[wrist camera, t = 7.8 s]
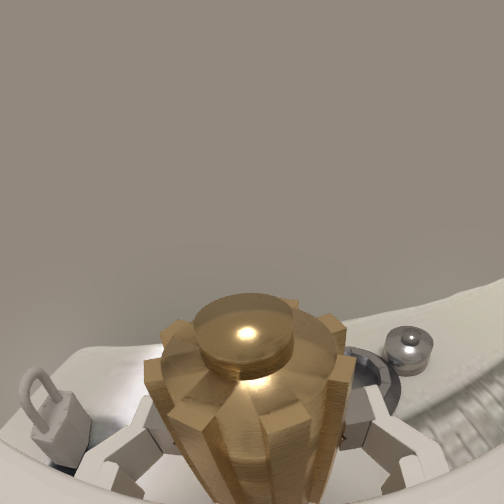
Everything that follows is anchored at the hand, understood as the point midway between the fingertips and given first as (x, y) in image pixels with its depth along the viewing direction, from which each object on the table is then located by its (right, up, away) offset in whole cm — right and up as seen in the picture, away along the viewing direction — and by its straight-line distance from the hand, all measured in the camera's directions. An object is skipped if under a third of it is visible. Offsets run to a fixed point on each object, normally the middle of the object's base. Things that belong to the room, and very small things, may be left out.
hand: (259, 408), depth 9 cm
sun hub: (+18, -7, +20) cm, 28 cm away
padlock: (-19, -14, +11) cm, 26 cm away
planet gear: (0, -5, +1) cm, 5 cm away
